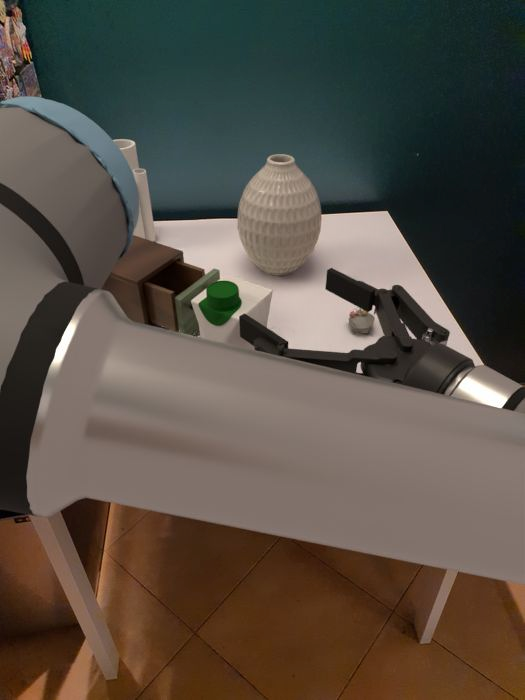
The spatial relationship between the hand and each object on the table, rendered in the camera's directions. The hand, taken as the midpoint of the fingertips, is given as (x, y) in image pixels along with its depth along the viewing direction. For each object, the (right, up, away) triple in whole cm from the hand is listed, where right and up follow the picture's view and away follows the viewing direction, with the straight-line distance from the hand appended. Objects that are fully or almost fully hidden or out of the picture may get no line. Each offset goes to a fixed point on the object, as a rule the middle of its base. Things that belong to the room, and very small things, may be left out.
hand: (287, 300), depth 58 cm
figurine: (+14, -2, +32) cm, 36 cm away
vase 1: (-31, +19, +58) cm, 68 cm away
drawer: (-16, 0, +33) cm, 37 cm away
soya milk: (-7, -12, +20) cm, 24 cm away
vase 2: (0, +11, +48) cm, 50 cm away
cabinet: (-26, +3, +38) cm, 46 cm away
